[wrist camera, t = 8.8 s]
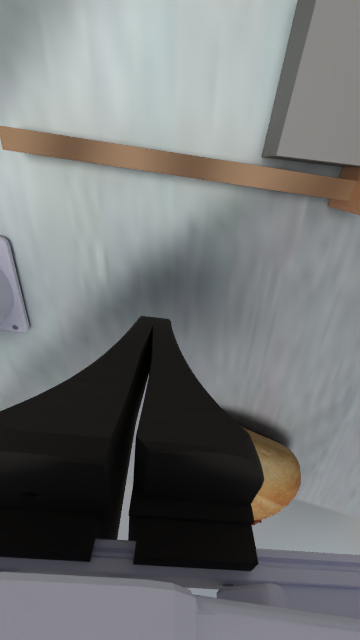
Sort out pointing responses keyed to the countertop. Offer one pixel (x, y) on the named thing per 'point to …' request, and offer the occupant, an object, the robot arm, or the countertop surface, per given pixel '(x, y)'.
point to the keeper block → (319, 87)
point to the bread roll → (274, 477)
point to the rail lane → (188, 166)
